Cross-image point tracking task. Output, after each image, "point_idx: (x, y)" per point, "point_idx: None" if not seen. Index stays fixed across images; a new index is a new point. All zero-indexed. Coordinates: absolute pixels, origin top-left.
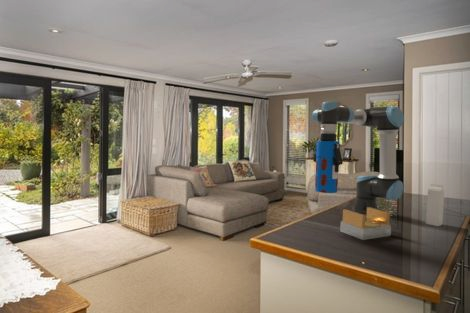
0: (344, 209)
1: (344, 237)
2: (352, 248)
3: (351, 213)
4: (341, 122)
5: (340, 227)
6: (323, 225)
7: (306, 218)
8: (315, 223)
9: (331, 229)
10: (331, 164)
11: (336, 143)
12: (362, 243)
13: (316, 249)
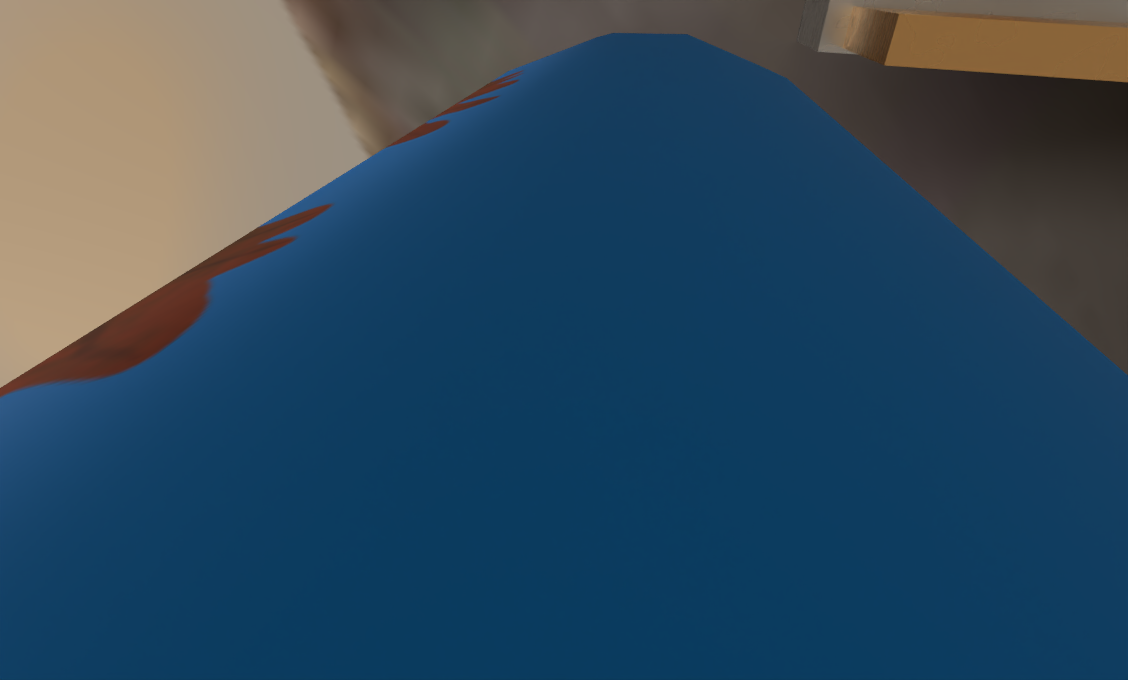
0: (895, 40)
1: (926, 156)
2: (1101, 309)
3: (1038, 75)
4: None
5: (806, 45)
6: (575, 39)
7: (308, 8)
8: (491, 63)
9: None
10: None
11: None
12: (1123, 146)
13: None
